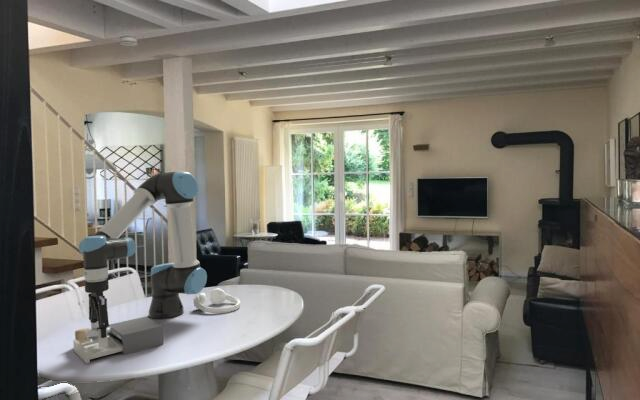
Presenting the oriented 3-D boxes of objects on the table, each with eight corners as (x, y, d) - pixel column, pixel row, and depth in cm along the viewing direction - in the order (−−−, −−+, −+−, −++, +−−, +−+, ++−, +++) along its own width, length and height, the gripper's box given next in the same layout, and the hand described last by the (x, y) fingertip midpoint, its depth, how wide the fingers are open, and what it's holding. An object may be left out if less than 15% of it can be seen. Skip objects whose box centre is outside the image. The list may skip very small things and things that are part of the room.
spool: (74, 346, 168) (73, 330, 168) (89, 342, 171) (88, 327, 171) (77, 349, 164) (76, 333, 164) (92, 346, 167) (91, 330, 167)
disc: (108, 330, 166) (107, 325, 166) (114, 334, 159) (114, 328, 159) (84, 336, 160) (83, 330, 160) (89, 340, 154) (89, 334, 154)
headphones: (188, 310, 211) (219, 320, 201) (189, 293, 210) (220, 303, 200) (218, 300, 228) (248, 309, 217) (219, 284, 227) (249, 293, 216)
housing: (146, 333, 179) (145, 316, 179) (163, 344, 167) (162, 325, 166) (108, 343, 170) (107, 324, 170) (123, 355, 157) (122, 335, 157)
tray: (114, 340, 171) (113, 330, 171) (129, 352, 159) (128, 341, 159) (73, 350, 162) (73, 340, 162) (86, 363, 150) (85, 352, 149)
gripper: (77, 277, 165) (80, 339, 165) (93, 286, 149) (96, 353, 150) (99, 274, 170) (102, 334, 170) (117, 282, 154) (120, 348, 155)
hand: (99, 343), depth 160 cm, fingers closed on disc, 8 cm apart
